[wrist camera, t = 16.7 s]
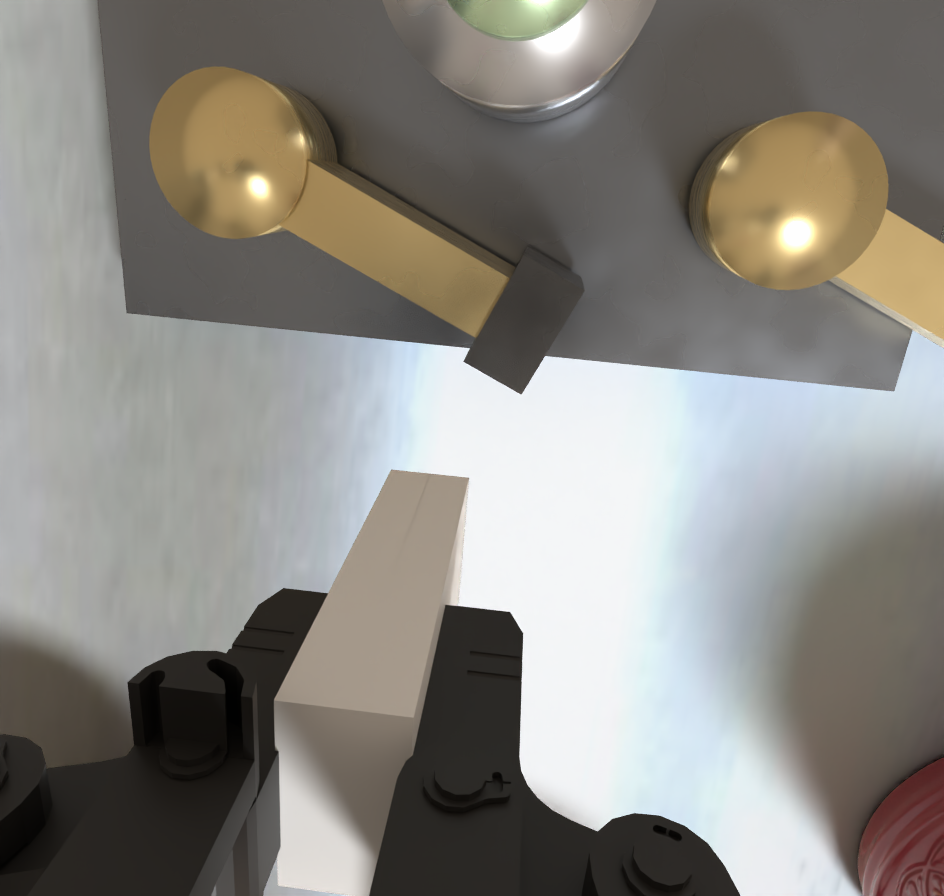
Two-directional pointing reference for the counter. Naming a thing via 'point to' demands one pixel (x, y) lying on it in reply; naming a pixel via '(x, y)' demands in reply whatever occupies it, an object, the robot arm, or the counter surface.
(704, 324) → the levelling base
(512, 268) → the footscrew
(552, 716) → the counter surface
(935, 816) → the canister
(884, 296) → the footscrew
